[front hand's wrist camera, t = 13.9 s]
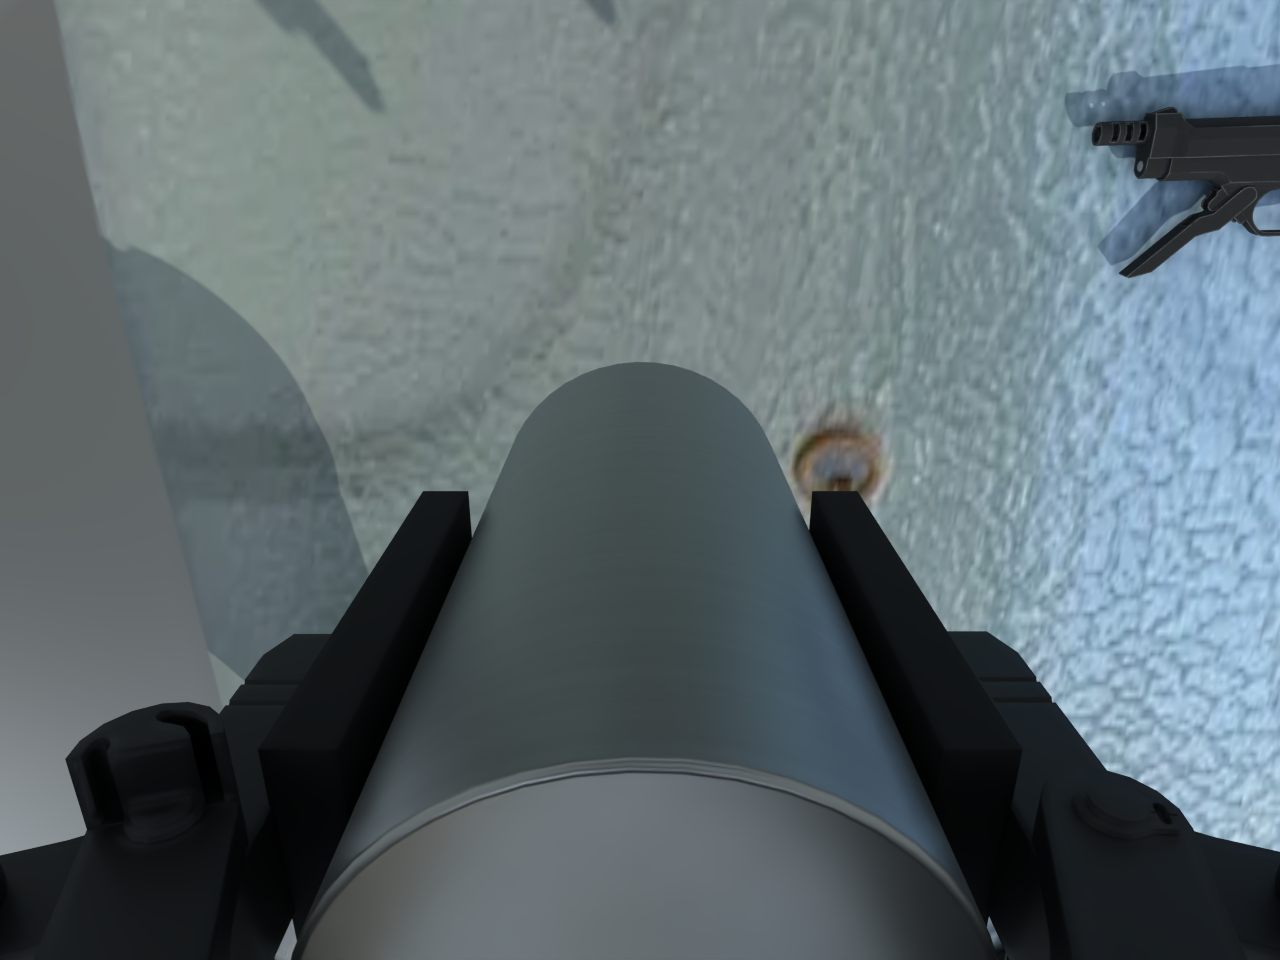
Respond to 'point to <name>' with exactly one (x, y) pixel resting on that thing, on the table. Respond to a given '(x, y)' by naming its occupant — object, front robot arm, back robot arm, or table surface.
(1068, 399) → the table surface
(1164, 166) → the handgun
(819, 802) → the tin
